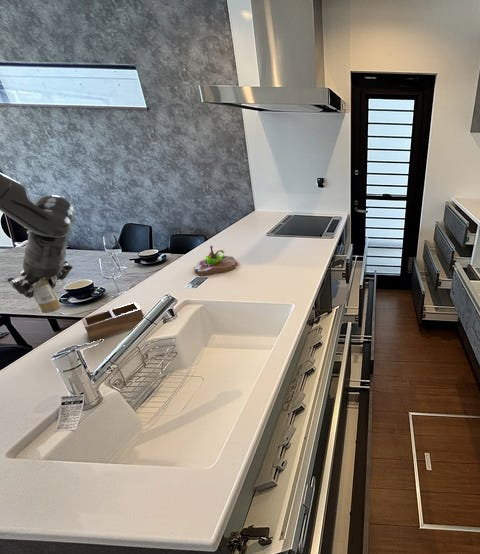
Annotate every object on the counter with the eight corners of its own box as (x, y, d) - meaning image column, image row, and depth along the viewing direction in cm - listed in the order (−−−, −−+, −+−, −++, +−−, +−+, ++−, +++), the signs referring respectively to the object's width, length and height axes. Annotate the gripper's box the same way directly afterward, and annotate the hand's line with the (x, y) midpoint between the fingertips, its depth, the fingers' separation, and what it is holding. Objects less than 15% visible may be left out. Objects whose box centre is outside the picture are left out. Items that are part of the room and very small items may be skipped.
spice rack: (88, 333, 105) (81, 318, 103) (141, 315, 115) (135, 301, 113) (92, 342, 100) (84, 327, 98) (146, 323, 110) (141, 308, 108)
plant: (236, 257, 170) (232, 238, 165) (237, 270, 153) (232, 249, 149) (196, 263, 163) (191, 243, 158) (193, 277, 146) (186, 255, 142)
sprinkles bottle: (63, 304, 95) (43, 265, 90) (60, 310, 92) (39, 270, 86) (44, 309, 93) (21, 269, 87) (40, 315, 89) (16, 274, 84)
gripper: (65, 239, 88) (57, 273, 96) (-2, 256, 75) (-5, 293, 84) (85, 257, 88) (75, 290, 97) (22, 277, 76) (17, 312, 85)
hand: (38, 291), depth 90 cm, fingers closed on sprinkles bottle, 4 cm apart
